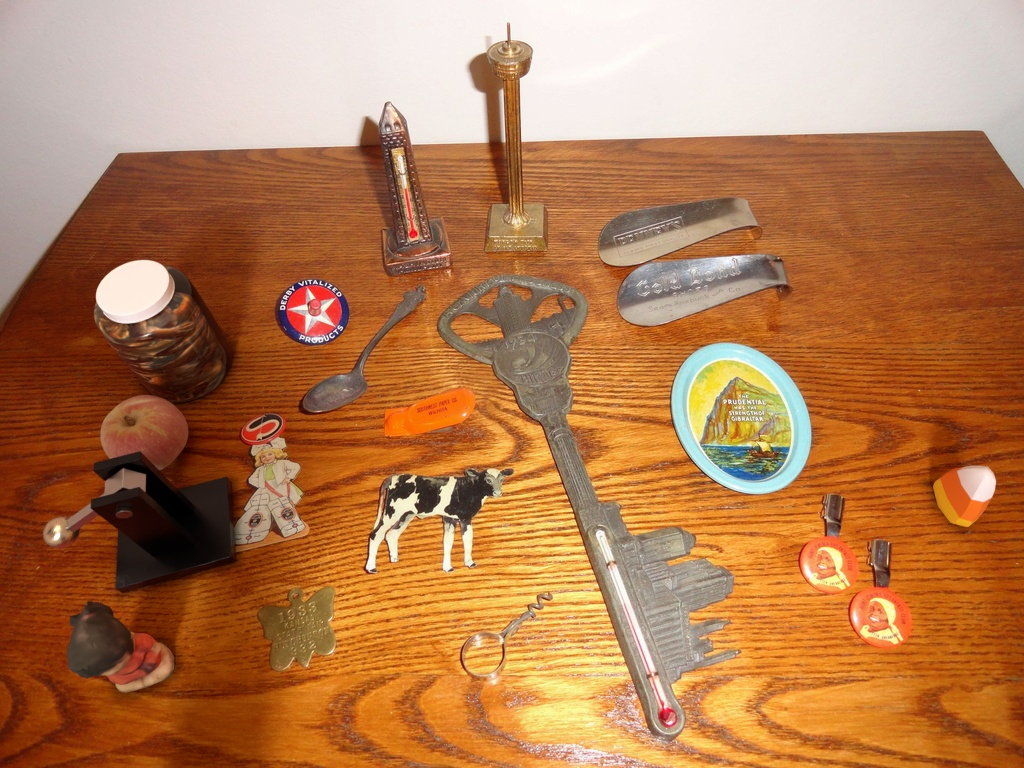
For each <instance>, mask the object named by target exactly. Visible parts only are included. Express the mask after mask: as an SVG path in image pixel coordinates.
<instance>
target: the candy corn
mask: <svg viewBox="0 0 1024 768" xmlns="http://www.w3.org/2000/svg"><path fill="white" fill-rule="evenodd" d="M996 485H997V479H996V476H995V473H994V472H993V471H992V470H991V468H990V467H989V466H987V465H986V466H985V465H967V466H966V465H965V466H961V467H956V468H953V469H950V470H949V471H947V472H945V473H944V474H943V475H941V477H939V478H938V479H936V480H935V481H934V483H933V485H932V489H933V494H934V495H935V496H934V497H935V501H936V505H937V508H938V509H939V510H940V511H941V513H942V514H943V515H944V517H945V518H946V519H947V520H948V522H949V523H950V524H953V525H958V526H960V527H965V528H969V527H970V526H971V525H973V524H974V523H975V522H976V521H977V520H978V519H979V518H981V516H982V515H983V513H984V512H985V511H986V509H987V507H988V505H989V504H990V502H991V500H992V498H993V496H994V493H995V491H996Z"/></svg>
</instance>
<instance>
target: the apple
mask: <svg viewBox="0 0 1024 768" xmlns="http://www.w3.org/2000/svg"><path fill="white" fill-rule="evenodd" d="M188 438H189V426H188V422H187V420H186V417H185V416H184V414H183V413H182V412H181V410H180V409H179V408H178V407H177V406H176V405H174V403H173V402H169V401H167V400H165V399H162V398H160V397H156V396H154V395H153V394H141V395H135V396H133V397H130V398H127V399H125V400H123V401H121V402H120V403H119V404H118V405H116V406H115V407H114V408H113V409H112V410H111V411H109V413H108V414H107V415H106V416H105V417H104V419H103V421H102V423H101V427H100V444H101V446H102V447H101V448H102V449H103V451H104V453H105V454H106V456H107V457H108V459H111V458H115V457H119V456H123V455H127V454H131V453H135V452H139V451H141V452H142V453H143V454H144V455H145V456H146V457H147V458H148V459H149V460H150V461H151V462H152V463H153V464H154V465H155V466H156V467H157V468H158V470H159V471H161V470H164V468H166V467H168V466H169V465H171V464H172V463H173V462H174V461H175V460H176V459H177V457H178V456H179V455H180V454H181V453H182V451H183V450H184V449H185V446H186V445H187V442H188Z"/></svg>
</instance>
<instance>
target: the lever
mask: <svg viewBox="0 0 1024 768" xmlns="http://www.w3.org/2000/svg"><path fill="white" fill-rule="evenodd" d="M136 487H140V488H141V489H142V490H143V491H144V492H146V474H143V473H139V472H136V471H132V470H129V469H125V468H123V469H121V470H120V471H118V472H117V473H116V474H114V475H113V476H112V477H110V478H109V479H107V480H106V481H104V492H103V494H101V495H100V496H99V497H102V496H106V495H109V494H113V493H117V492H121V491H125V490H129V489H133V488H136ZM98 516H99V515H98V514H97V513H96V512H94V511H93V510H92V509H91V502H90V503H89V504H87V505H85V506H84V507H83V508H81V509H80V510H78V511H77V512H76V513H74V514H73V515H71V516H68V515H59V516H56V517H53V518H52V519H50V520H49V521H48V522H47V523H46V524H45V526H44V527H43V531H42V537H43V540H44V542H45V543H46V544H47V545H48V546H49V547H51V548H53V549H65V548H68V547H71V546H72V545H74V544H75V543H76V542H77V541H78V540H79V539H80V536H81V533H82V532H81V529H82V528H83V527H84V526H85V525H87V524H88V523H90V522H91V521H92V520H94V519H96V518H97V517H98Z"/></svg>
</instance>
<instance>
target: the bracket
mask: <svg viewBox="0 0 1024 768" xmlns="http://www.w3.org/2000/svg"><path fill="white" fill-rule="evenodd" d="M123 468H125V469H129V470H132V471H136V472H139V473H143V474H146V492H144V491H143V490H142V489H141V488H140V487H136V488H133V489H129V490H125V491H121V492H117V493H113V494H109V495H106V496H102V497H100V496H99V497H94V498H91V499H90V503H91V509H92V510H93V511H94V512H96V513H97V514H98V516H99V517H101V518H102V519H103V520H105V521H106V522H107V523H108V524H110V525H111V526H112V527H114V528H115V529H116V530H117V545H116V547H117V548H116V565H115V566H116V568H115V587H114V588H115V590H116V591H118V592H119V593H121V594H125V593H129V592H132V591H135V590H139V589H143V588H146V587H150V586H153V585H157V584H161V583H164V582H168V581H172V580H176V579H179V578H183V577H187V576H190V575H193V574H197V573H201V572H204V571H208V570H212V569H215V568H219V567H223V566H225V565H231V564H233V563H236V562H237V551H236V550H237V549H236V535H235V534H236V533H235V517H234V516H235V515H234V497H233V482H232V481H231V480H230V478H229V477H228V476H223V477H220V478H216V479H212V480H208V481H204V482H200V483H197V484H193V485H190V486H185V487H180V488H178V487H176V485H175V484H173V482H172V481H171V480H170V479H169V478H168V477H167V476H166V475H164V473H163V472H162V471H161V470H158V468H157V467H156V466H155V465H154V464H153V463H152V462H151V461H150V460H149V459H148V458H147V457H146V456H145V455H144V454H143V453H142V452H141V451H139V452H135V453H131V454H127V455H123V456H119V457H115V458H111V459H110V458H108V459H103V460H100V461H96V462H93V473H94V474H96V475H97V476H98V477H99V478H101V480H102V481H104V482H105V481H106V480H107V479H109V478H110V477H112V476H113V475H114V474H116V473H117V472H118V471H120V470H121V469H123Z"/></svg>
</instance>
